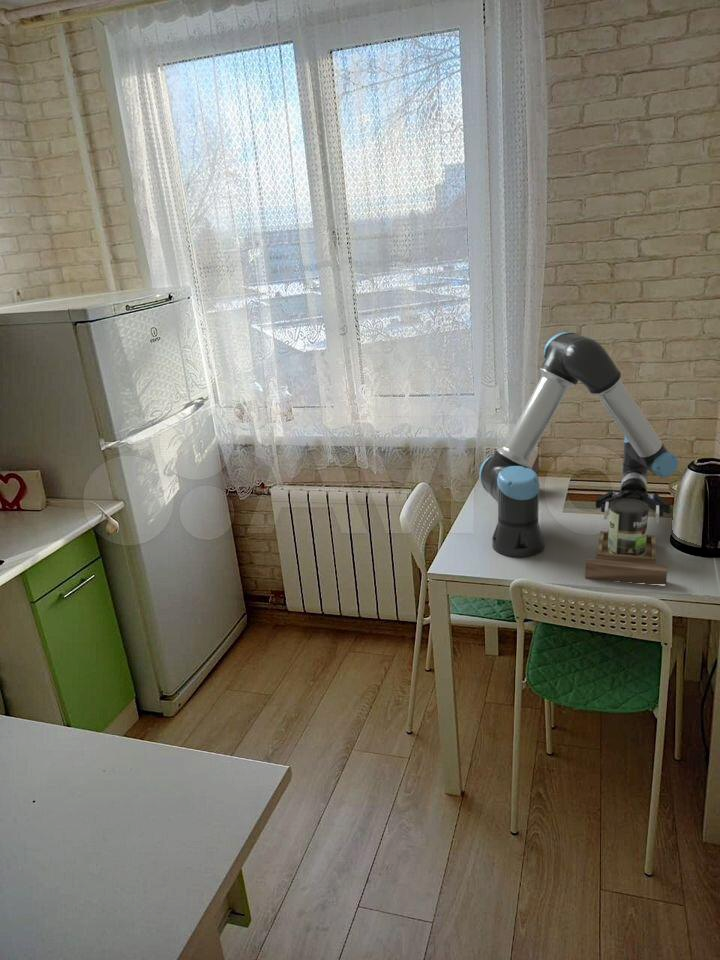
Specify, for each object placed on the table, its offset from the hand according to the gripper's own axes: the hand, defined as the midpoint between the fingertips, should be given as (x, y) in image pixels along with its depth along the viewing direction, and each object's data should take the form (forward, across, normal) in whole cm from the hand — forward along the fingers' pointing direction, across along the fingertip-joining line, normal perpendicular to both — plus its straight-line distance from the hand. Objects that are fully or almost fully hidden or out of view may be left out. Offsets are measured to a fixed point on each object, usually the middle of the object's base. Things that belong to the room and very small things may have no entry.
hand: (631, 516), depth 200 cm
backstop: (+17, 0, -11) cm, 21 cm away
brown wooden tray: (+2, +1, -11) cm, 11 cm away
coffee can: (+2, +1, -10) cm, 10 cm away
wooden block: (-38, +35, -11) cm, 53 cm away
